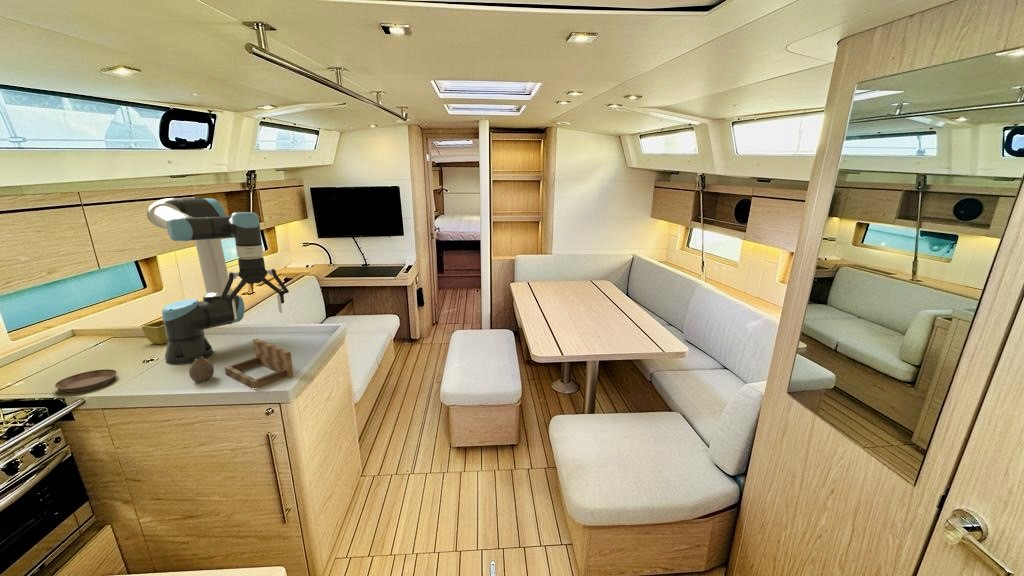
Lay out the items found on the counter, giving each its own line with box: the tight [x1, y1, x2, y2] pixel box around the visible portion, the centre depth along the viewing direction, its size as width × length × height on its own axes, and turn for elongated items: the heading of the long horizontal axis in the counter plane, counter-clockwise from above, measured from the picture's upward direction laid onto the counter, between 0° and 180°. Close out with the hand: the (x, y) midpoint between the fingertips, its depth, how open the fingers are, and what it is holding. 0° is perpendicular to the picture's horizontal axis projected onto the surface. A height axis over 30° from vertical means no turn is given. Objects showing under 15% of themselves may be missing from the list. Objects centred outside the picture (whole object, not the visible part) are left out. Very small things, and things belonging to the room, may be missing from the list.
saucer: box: [54, 368, 118, 393], centre depth 134 cm, size 15×15×3 cm
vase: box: [188, 357, 215, 384], centre depth 138 cm, size 7×7×9 cm
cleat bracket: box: [224, 338, 294, 390], centre depth 143 cm, size 24×13×10 cm, turn 59°
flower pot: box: [140, 319, 168, 345], centre depth 170 cm, size 9×9×9 cm
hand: (258, 315), depth 138 cm, fingers open, 13 cm apart
